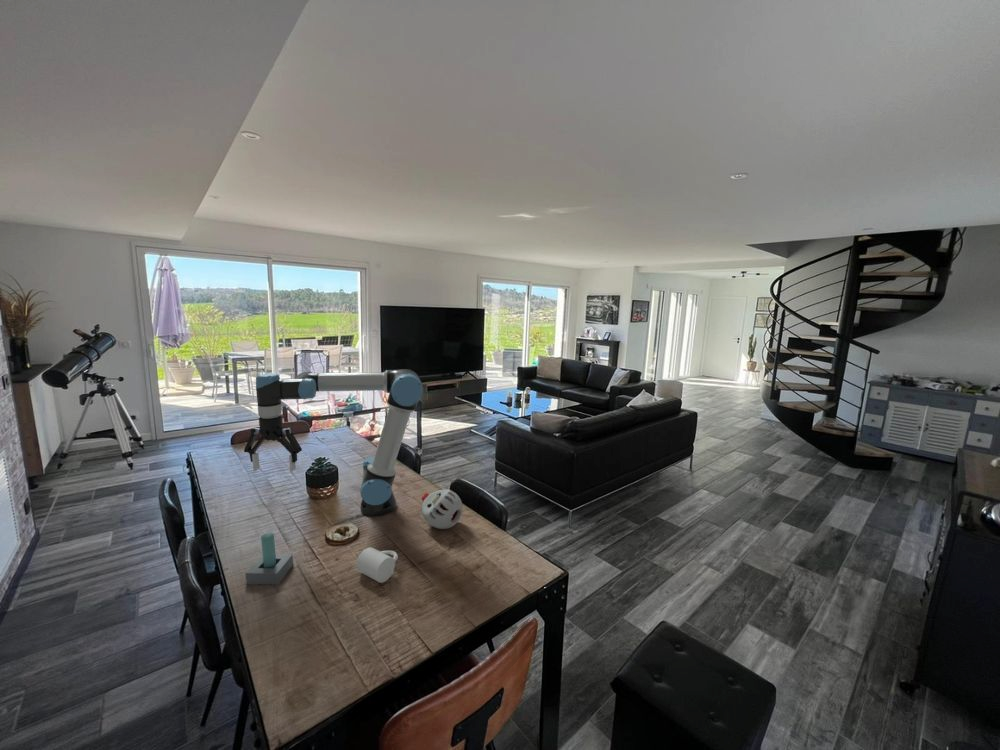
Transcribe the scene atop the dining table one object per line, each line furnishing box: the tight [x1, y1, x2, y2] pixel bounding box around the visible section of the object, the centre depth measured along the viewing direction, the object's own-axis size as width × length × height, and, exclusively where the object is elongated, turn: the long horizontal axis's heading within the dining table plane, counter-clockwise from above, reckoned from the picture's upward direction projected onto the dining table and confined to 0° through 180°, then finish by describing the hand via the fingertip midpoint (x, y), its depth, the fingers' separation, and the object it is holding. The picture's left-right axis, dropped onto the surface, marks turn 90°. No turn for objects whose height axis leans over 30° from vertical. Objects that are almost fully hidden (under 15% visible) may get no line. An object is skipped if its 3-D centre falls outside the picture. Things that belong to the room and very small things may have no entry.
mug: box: [356, 547, 399, 584], centre depth 136 cm, size 12×10×8 cm
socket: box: [245, 553, 294, 586], centre depth 133 cm, size 10×10×4 cm
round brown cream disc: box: [324, 522, 360, 546], centre depth 156 cm, size 15×15×4 cm
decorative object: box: [421, 489, 464, 530], centre depth 165 cm, size 15×19×15 cm
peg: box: [260, 532, 277, 568], centre depth 132 cm, size 4×4×14 cm
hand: (274, 470), depth 151 cm, fingers open, 13 cm apart
